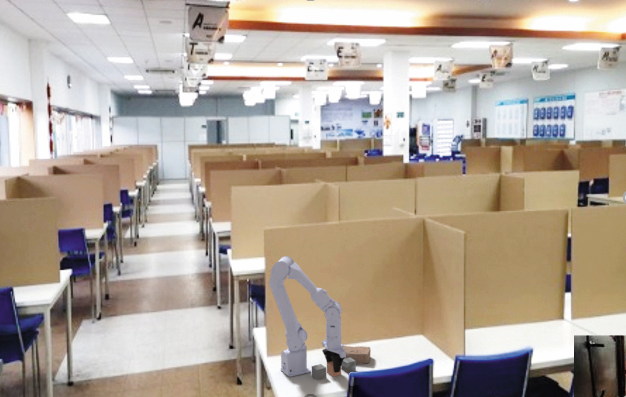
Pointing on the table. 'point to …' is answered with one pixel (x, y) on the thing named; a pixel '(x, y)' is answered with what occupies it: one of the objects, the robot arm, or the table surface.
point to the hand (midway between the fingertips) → (333, 369)
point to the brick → (358, 353)
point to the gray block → (318, 372)
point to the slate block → (348, 365)
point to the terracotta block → (332, 369)
